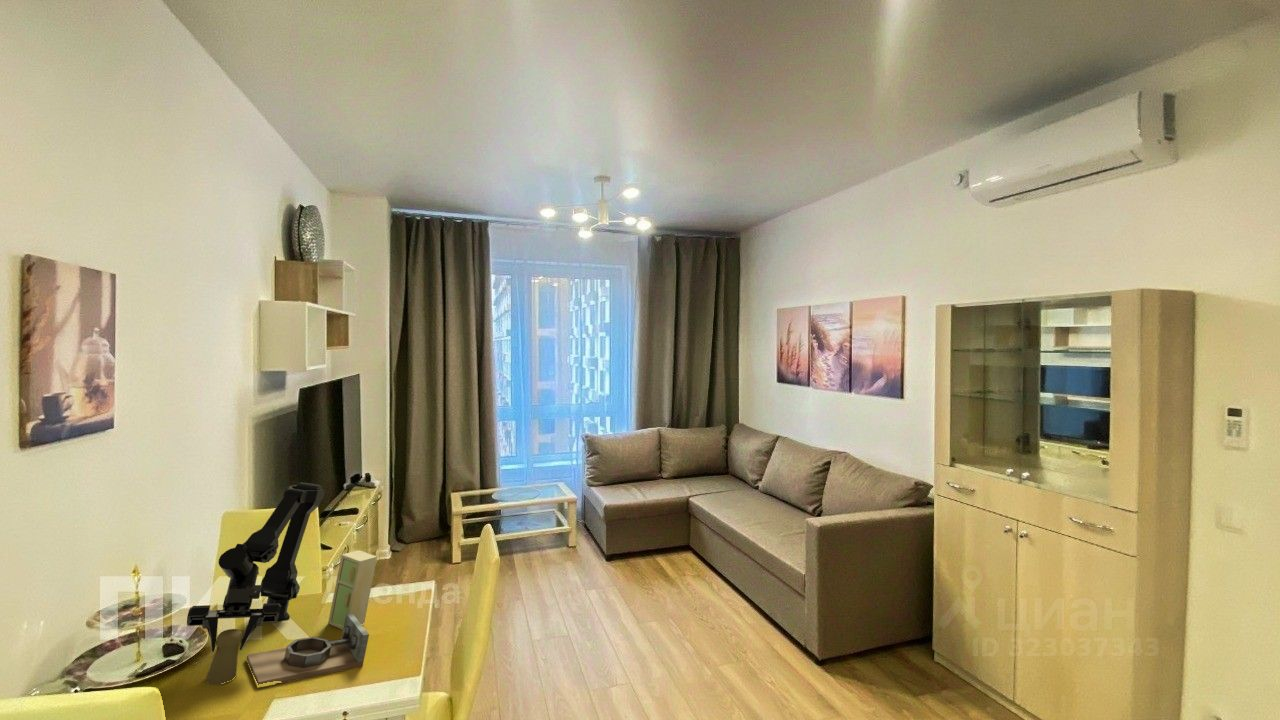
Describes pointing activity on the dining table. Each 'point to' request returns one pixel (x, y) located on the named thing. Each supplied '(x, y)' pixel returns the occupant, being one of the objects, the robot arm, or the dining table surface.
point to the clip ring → (317, 645)
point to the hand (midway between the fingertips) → (226, 650)
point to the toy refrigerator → (352, 587)
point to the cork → (225, 657)
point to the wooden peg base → (340, 658)
